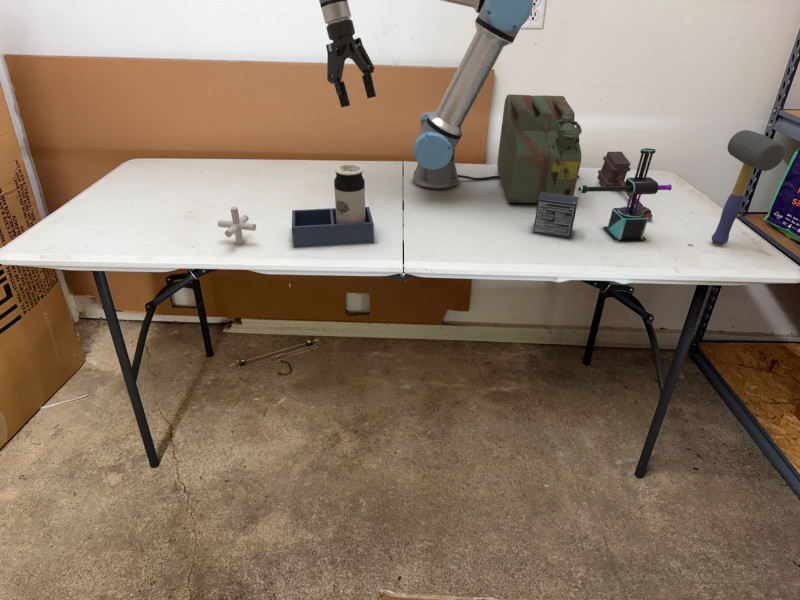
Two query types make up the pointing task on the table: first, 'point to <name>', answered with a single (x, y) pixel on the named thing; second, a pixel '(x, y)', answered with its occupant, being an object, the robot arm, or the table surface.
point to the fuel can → (538, 147)
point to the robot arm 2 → (630, 220)
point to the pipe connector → (236, 225)
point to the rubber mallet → (746, 173)
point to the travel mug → (349, 194)
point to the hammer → (618, 175)
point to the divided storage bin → (329, 228)
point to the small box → (555, 214)
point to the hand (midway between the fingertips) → (359, 101)
